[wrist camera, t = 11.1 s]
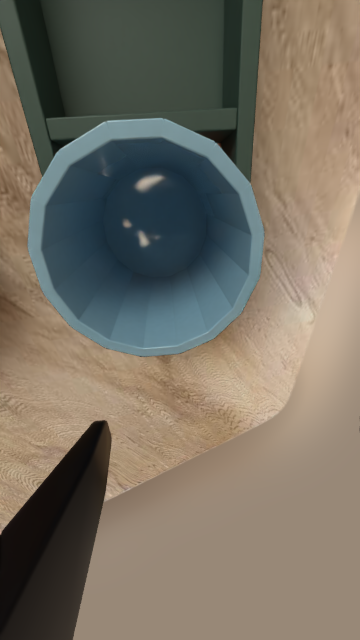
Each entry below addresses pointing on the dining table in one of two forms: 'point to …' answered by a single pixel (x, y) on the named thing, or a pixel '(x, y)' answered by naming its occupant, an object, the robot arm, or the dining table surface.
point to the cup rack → (135, 67)
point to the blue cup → (145, 237)
